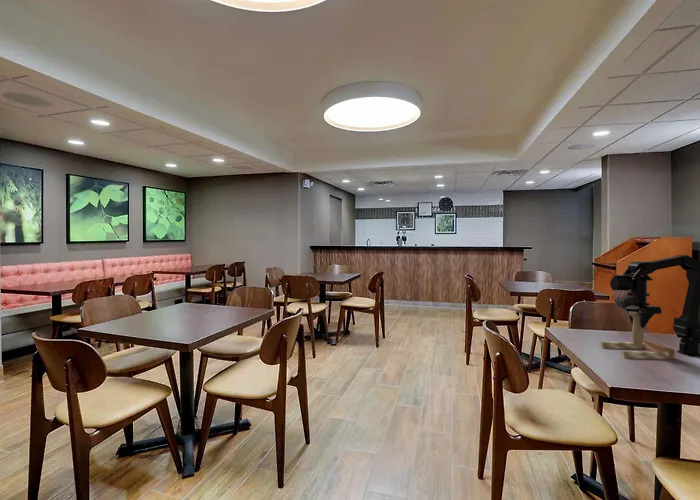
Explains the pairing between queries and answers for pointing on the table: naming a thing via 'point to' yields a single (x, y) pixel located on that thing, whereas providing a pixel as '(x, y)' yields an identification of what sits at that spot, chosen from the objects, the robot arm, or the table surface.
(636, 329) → the handle
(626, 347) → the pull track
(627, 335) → the table surface
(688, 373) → the table surface
